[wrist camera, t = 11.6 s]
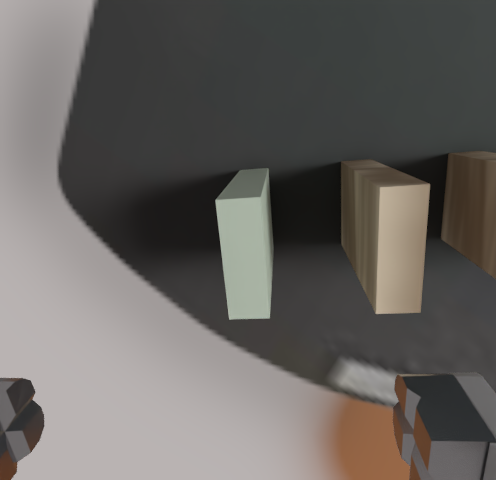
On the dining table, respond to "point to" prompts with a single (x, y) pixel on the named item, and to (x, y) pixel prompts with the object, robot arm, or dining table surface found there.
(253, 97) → the dining table surface
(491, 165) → the domino
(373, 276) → the domino
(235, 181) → the end domino
